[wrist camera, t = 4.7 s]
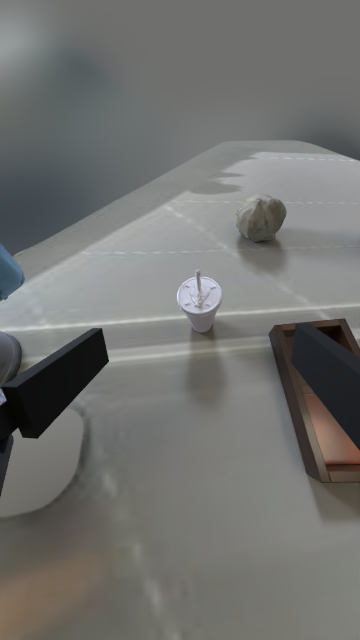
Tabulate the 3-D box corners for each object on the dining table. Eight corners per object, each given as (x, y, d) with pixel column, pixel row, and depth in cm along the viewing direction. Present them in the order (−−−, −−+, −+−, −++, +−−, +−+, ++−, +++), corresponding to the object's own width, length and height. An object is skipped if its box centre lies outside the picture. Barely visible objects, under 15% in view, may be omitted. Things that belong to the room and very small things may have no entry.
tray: (306, 473, 24) (321, 483, 21) (268, 333, 32) (274, 325, 29) (395, 472, 23) (425, 482, 20) (331, 328, 31) (345, 318, 28)
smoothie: (220, 309, 36) (226, 253, 23) (218, 341, 33) (222, 298, 21) (187, 307, 37) (175, 253, 25) (182, 338, 34) (166, 294, 22)
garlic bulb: (272, 245, 44) (306, 210, 34) (243, 257, 42) (271, 224, 32) (251, 213, 45) (278, 171, 36) (222, 224, 43) (242, 182, 34)
